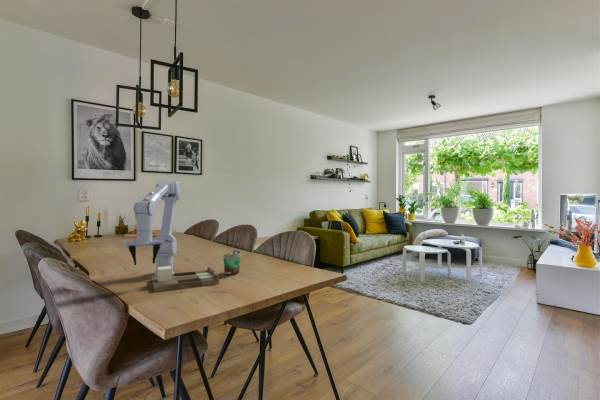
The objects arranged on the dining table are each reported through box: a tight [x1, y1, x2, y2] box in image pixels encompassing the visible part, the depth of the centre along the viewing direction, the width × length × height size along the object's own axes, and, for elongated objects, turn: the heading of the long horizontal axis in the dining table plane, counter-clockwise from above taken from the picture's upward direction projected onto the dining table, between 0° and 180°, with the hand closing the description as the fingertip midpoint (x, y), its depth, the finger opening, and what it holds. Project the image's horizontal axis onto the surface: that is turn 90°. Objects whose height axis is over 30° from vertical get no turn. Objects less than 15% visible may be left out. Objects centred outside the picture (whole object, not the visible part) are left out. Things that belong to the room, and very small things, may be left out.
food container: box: [222, 249, 243, 276], centre depth 150 cm, size 12×6×10 cm, turn 168°
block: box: [158, 266, 172, 282], centre depth 131 cm, size 5×5×5 cm
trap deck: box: [150, 266, 220, 293], centre depth 135 cm, size 18×25×4 cm
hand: (144, 263), depth 127 cm, fingers open, 6 cm apart
